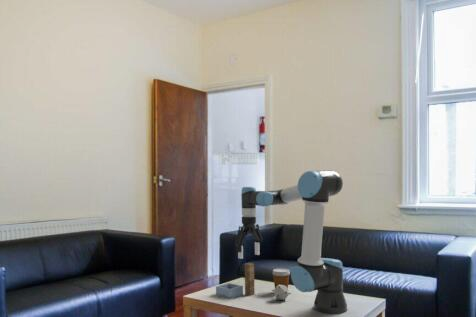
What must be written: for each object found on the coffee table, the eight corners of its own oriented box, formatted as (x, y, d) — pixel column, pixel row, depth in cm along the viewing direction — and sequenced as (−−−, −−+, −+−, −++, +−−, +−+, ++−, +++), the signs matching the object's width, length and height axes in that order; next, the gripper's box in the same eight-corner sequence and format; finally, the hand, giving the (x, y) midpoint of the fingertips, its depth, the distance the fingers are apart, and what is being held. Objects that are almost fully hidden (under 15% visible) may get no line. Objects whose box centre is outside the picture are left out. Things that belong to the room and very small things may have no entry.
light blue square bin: (242, 294, 236) (242, 285, 236) (230, 298, 228) (230, 289, 228) (229, 291, 242) (228, 282, 242) (216, 295, 235) (215, 286, 235)
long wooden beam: (254, 294, 235) (254, 263, 236) (250, 295, 233) (249, 264, 233) (249, 293, 238) (249, 262, 238) (245, 294, 235) (244, 263, 235)
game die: (285, 307, 225) (296, 290, 225) (278, 305, 218) (290, 288, 218) (272, 295, 230) (283, 279, 230) (265, 293, 223) (277, 277, 224)
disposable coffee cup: (289, 295, 232) (289, 272, 232) (271, 295, 234) (271, 271, 234) (291, 291, 241) (290, 268, 242) (273, 290, 243) (273, 268, 244)
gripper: (258, 213, 248) (258, 252, 248) (227, 217, 230) (227, 259, 229) (268, 214, 243) (269, 254, 243) (238, 218, 225) (238, 261, 224)
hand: (249, 256), depth 236 cm, fingers open, 13 cm apart
